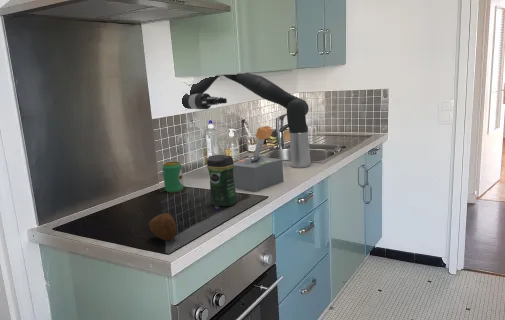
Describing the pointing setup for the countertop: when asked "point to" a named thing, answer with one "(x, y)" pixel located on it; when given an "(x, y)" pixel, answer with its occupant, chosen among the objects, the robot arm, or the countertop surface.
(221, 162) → the coffee jar
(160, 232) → the potato
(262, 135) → the mallet
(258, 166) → the switch box
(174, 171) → the beverage can
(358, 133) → the countertop surface
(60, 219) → the countertop surface
